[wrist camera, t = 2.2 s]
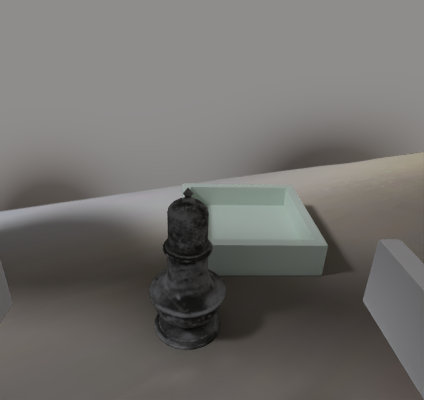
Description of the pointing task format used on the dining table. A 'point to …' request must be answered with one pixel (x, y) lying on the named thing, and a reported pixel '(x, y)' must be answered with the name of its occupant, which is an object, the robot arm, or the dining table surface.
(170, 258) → the salt shaker
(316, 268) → the tray
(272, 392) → the dining table surface
